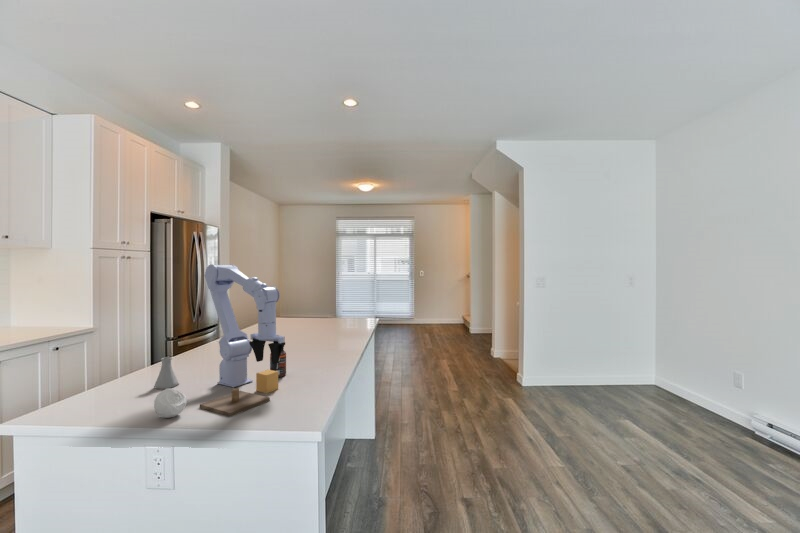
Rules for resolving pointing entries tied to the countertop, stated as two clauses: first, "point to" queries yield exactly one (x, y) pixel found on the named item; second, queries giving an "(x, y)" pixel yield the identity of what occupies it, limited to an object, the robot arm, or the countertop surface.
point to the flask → (166, 375)
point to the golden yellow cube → (267, 381)
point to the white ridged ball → (170, 403)
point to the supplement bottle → (279, 364)
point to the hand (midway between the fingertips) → (267, 362)
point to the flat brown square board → (234, 402)
